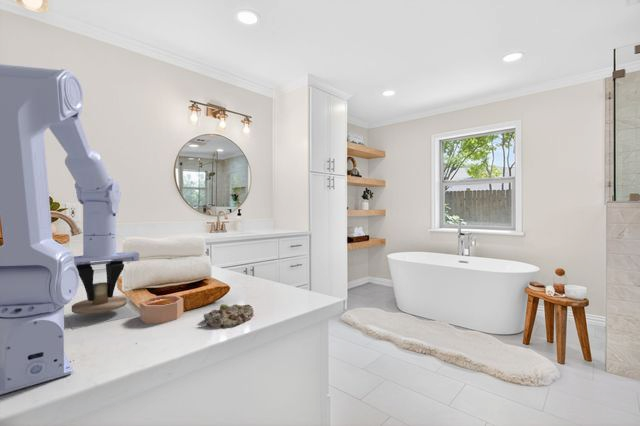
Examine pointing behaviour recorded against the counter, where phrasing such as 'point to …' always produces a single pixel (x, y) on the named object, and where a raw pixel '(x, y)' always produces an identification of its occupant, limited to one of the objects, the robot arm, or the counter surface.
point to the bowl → (161, 310)
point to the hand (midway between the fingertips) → (100, 298)
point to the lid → (99, 301)
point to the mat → (97, 317)
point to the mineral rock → (229, 315)
